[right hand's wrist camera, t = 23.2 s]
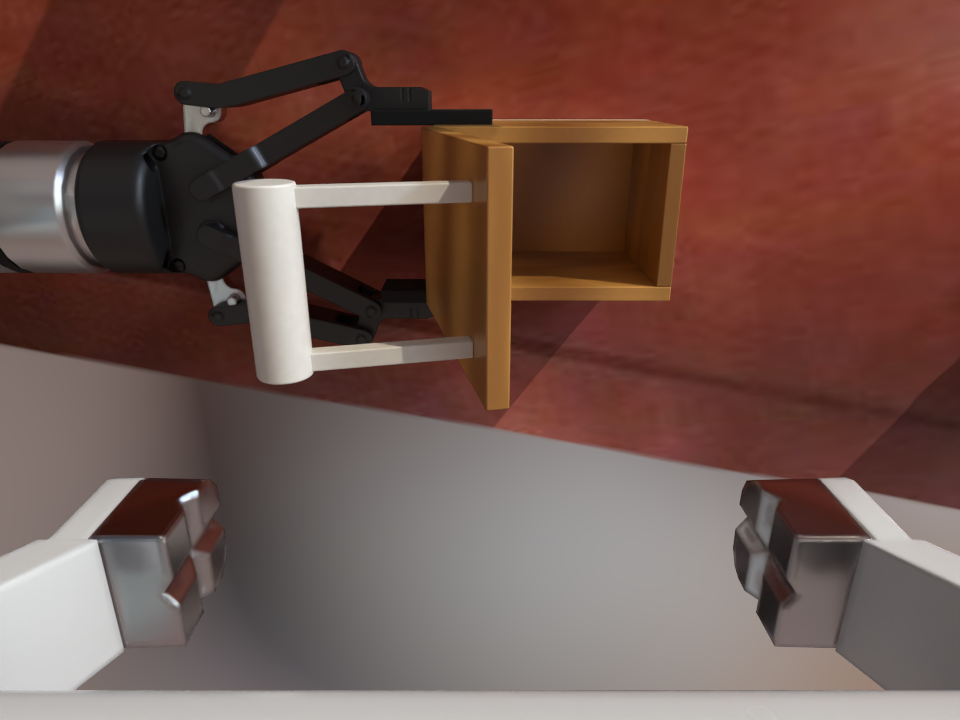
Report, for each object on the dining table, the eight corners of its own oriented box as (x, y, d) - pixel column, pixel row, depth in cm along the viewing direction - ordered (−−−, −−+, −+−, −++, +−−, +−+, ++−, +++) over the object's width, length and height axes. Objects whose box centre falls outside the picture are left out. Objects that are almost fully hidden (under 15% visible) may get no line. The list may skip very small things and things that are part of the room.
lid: (514, 146, 21) (217, 150, 19) (509, 409, 25) (256, 435, 23) (438, 126, 34) (253, 128, 32) (442, 303, 37) (275, 314, 35)
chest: (645, 119, 44) (688, 126, 34) (633, 260, 47) (670, 301, 38) (441, 119, 44) (430, 126, 34) (444, 260, 47) (434, 301, 38)
